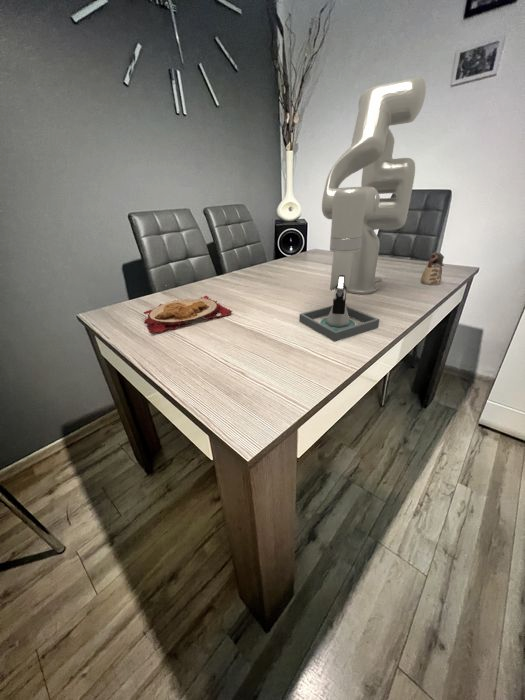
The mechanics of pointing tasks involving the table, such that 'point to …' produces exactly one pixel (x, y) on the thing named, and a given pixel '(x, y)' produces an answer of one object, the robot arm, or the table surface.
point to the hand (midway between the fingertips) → (339, 307)
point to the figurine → (433, 270)
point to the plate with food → (183, 313)
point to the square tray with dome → (339, 332)
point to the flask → (338, 319)
